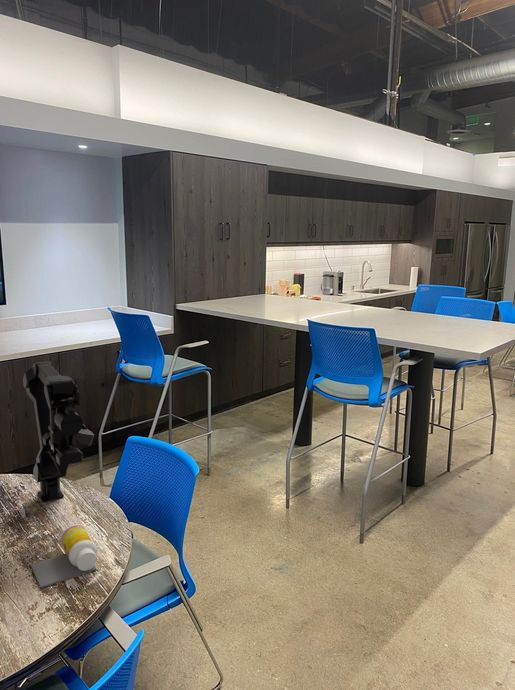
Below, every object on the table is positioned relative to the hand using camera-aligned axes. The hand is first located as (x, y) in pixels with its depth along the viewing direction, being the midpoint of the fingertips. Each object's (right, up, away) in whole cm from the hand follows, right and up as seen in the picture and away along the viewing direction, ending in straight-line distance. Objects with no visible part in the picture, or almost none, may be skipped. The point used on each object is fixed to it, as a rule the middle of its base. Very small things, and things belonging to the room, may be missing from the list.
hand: (63, 475), depth 148 cm
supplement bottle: (+7, -12, -12) cm, 19 cm away
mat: (+7, -18, -19) cm, 27 cm away
